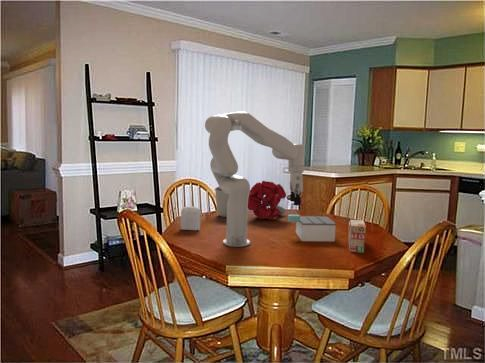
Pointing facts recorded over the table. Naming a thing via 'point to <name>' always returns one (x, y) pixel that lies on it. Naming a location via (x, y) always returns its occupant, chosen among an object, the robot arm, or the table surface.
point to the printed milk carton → (356, 236)
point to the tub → (315, 232)
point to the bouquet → (266, 200)
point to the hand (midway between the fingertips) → (295, 203)
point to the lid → (311, 220)
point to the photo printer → (190, 218)
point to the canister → (221, 201)
